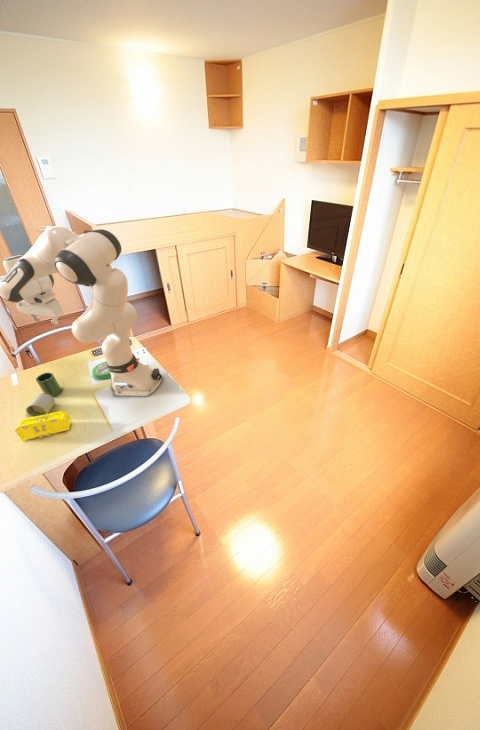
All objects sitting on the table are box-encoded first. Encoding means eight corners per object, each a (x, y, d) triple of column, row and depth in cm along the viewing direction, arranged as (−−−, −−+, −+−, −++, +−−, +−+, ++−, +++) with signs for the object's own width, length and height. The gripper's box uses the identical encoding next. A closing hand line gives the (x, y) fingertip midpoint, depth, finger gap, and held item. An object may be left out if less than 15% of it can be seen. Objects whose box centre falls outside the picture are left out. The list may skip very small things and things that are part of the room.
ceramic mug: (59, 403, 128) (51, 390, 124) (50, 417, 122) (41, 404, 117) (33, 405, 128) (24, 392, 123) (23, 420, 121) (13, 407, 116)
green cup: (64, 387, 137) (55, 372, 131) (57, 397, 132) (48, 381, 126) (49, 388, 136) (40, 372, 130) (42, 398, 131) (32, 382, 125)
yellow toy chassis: (23, 442, 112) (11, 428, 107) (27, 431, 116) (16, 417, 111) (70, 431, 116) (61, 417, 111) (72, 421, 121) (64, 407, 116)
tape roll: (94, 368, 148) (92, 364, 146) (117, 362, 152) (116, 358, 150) (94, 382, 140) (92, 377, 138) (118, 375, 143) (117, 371, 142)
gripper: (4, 295, 122) (21, 323, 130) (46, 300, 119) (60, 329, 127) (18, 289, 127) (33, 316, 135) (58, 293, 124) (71, 322, 132)
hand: (46, 322), depth 131 cm, fingers open, 8 cm apart
